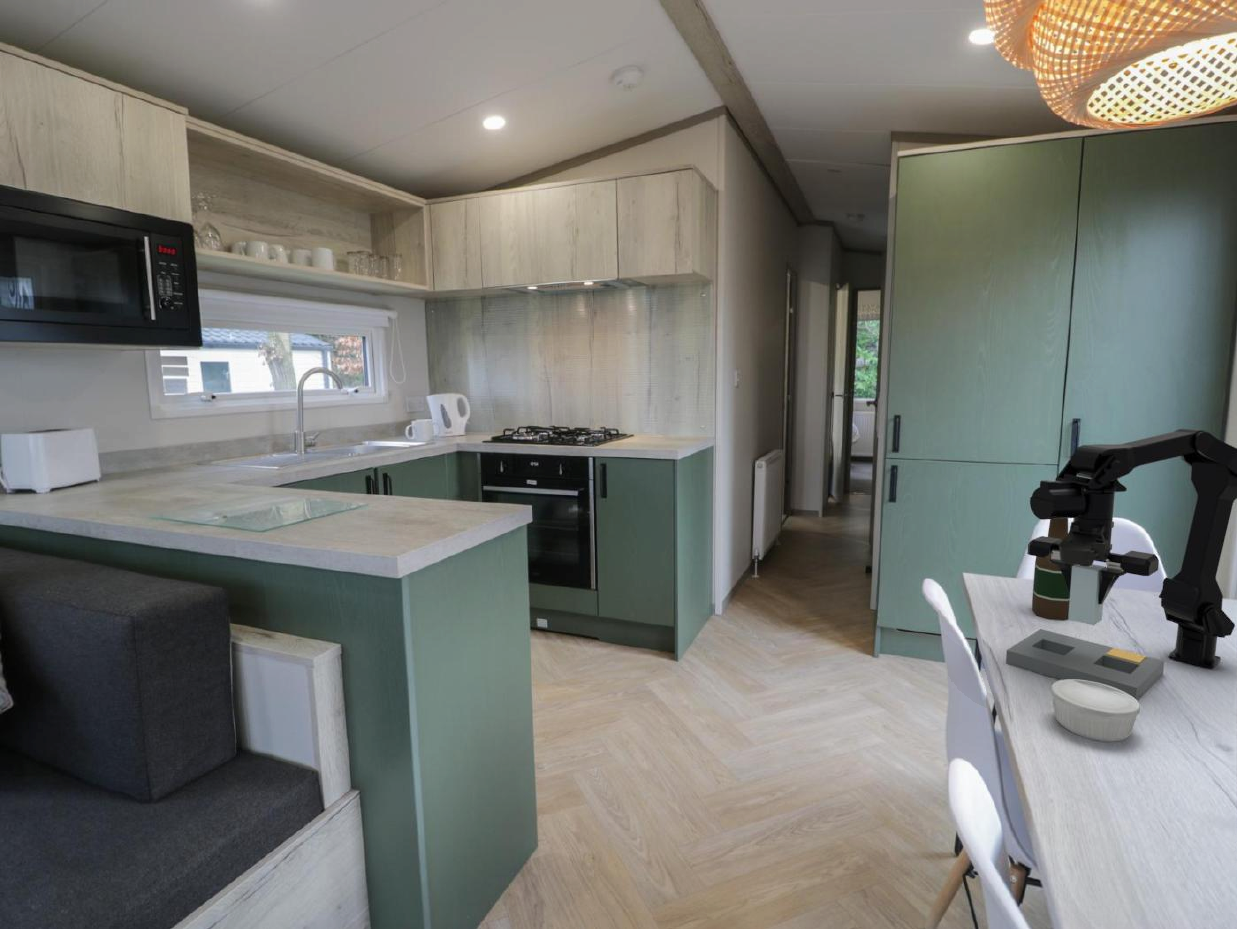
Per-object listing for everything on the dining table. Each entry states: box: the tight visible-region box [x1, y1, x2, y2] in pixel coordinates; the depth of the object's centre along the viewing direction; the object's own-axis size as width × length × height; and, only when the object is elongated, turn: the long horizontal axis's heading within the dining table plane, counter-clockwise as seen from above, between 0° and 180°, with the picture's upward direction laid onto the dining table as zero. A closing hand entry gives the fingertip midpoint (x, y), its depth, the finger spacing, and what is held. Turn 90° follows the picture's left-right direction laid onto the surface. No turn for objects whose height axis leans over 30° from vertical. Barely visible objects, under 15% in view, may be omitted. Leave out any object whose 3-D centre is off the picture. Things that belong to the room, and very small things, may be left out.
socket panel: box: [1005, 628, 1165, 701], centre depth 125 cm, size 16×20×3 cm
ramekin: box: [1050, 679, 1141, 743], centre depth 105 cm, size 11×11×5 cm
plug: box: [1067, 563, 1107, 626], centre depth 123 cm, size 4×4×10 cm
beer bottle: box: [1031, 518, 1070, 621], centre depth 150 cm, size 8×8×24 cm
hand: (1086, 600), depth 124 cm, fingers closed on plug, 4 cm apart
